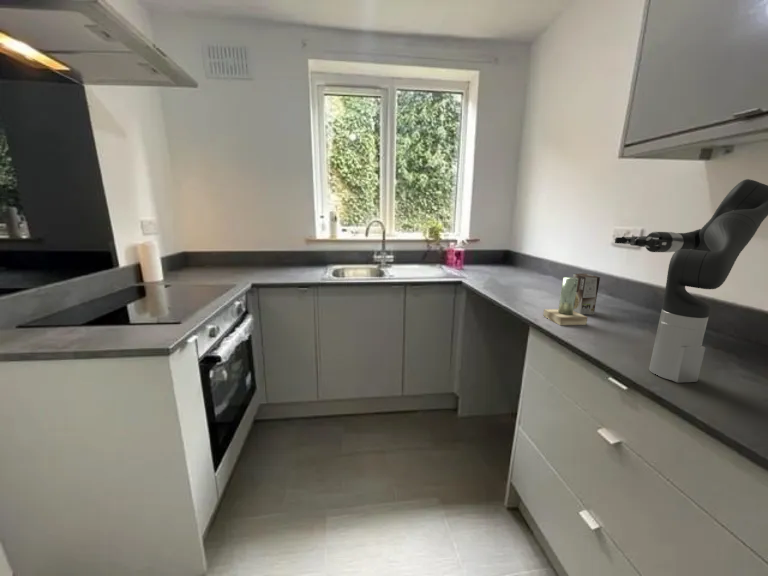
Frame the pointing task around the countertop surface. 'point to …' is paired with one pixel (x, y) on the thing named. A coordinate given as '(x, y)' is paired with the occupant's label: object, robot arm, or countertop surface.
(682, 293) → the robot arm
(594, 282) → the coffee box
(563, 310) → the pale green cylinder
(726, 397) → the countertop surface
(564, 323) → the shelf stand
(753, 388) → the countertop surface
